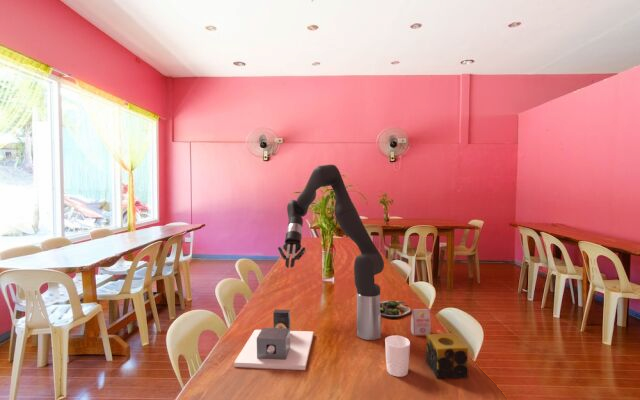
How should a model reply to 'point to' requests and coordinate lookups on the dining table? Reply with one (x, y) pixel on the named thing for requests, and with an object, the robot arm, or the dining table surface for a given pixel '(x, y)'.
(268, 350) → the shaft
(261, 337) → the block
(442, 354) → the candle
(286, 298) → the dining table surface
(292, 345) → the base board
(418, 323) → the white cardboard box
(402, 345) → the white cup
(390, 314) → the salad plate
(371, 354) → the dining table surface
